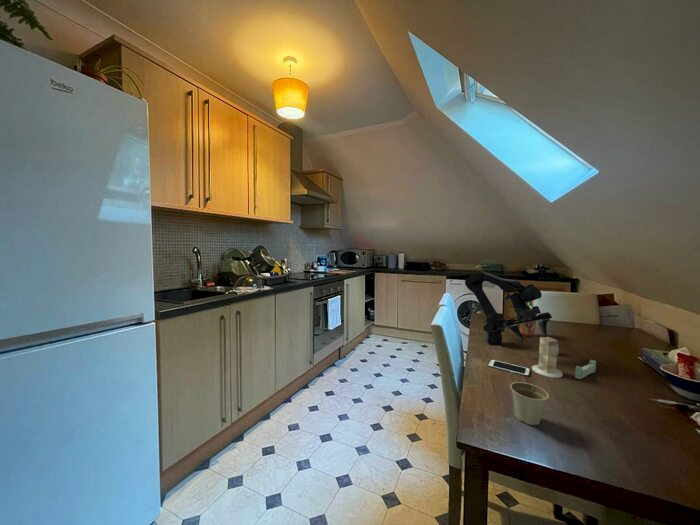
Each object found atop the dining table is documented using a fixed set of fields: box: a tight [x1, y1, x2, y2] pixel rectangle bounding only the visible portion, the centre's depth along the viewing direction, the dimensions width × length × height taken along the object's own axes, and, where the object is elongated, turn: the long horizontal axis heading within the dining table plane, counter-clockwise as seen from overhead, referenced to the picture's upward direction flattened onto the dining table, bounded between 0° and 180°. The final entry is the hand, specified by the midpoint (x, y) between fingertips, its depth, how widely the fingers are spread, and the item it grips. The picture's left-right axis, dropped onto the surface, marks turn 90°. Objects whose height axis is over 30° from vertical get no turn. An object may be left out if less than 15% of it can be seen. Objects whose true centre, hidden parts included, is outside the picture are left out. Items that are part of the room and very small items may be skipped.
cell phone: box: [487, 359, 531, 378], centre depth 110 cm, size 8×15×1 cm, turn 52°
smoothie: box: [519, 302, 537, 338], centre depth 151 cm, size 8×8×20 cm
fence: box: [574, 359, 597, 380], centre depth 105 cm, size 2×14×4 cm, turn 118°
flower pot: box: [509, 381, 550, 426], centre depth 78 cm, size 9×9×9 cm
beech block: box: [538, 336, 559, 373], centre depth 107 cm, size 4×4×13 cm
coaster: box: [531, 364, 564, 379], centre depth 107 cm, size 10×10×1 cm
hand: (534, 339), depth 117 cm, fingers open, 9 cm apart
